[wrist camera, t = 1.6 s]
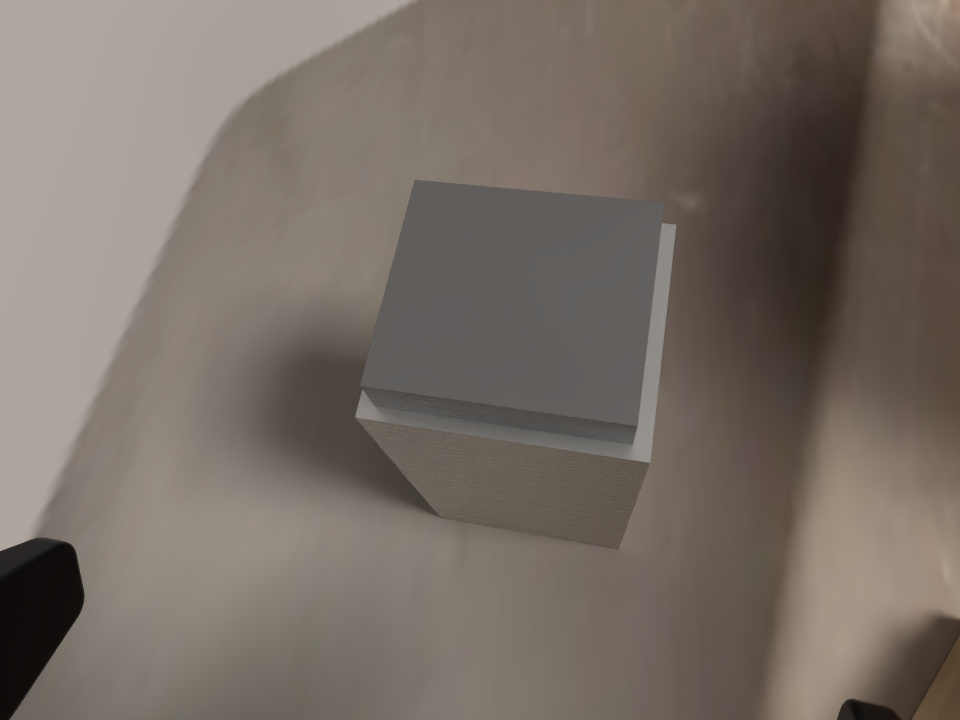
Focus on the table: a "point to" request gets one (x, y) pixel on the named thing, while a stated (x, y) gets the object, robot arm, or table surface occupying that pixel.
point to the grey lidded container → (522, 356)
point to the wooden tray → (943, 691)
